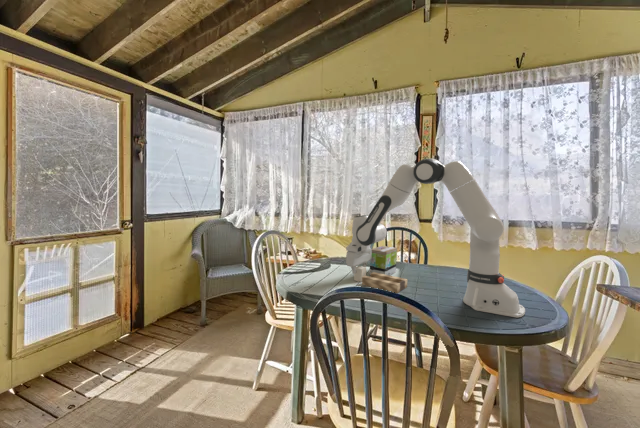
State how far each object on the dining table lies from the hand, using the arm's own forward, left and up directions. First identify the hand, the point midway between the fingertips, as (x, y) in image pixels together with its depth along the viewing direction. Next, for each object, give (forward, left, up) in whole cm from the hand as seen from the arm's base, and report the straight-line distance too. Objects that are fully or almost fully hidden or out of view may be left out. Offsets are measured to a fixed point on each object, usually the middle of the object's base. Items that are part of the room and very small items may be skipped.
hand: (359, 271), depth 159 cm
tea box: (-4, -19, -5) cm, 20 cm away
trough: (-15, 0, -5) cm, 15 cm away
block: (-1, 0, -5) cm, 5 cm away
